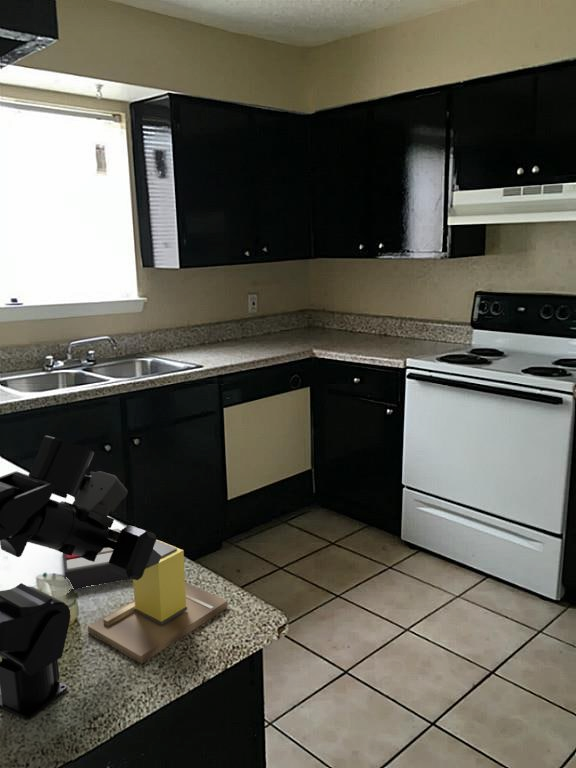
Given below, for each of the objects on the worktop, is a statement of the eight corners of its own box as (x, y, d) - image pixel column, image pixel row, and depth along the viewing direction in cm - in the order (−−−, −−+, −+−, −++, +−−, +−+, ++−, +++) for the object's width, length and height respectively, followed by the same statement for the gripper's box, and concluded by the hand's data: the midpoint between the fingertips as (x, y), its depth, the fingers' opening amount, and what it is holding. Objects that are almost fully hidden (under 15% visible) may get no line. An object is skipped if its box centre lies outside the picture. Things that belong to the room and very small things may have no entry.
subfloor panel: (141, 663, 91) (140, 650, 91) (88, 632, 98) (87, 620, 98) (227, 607, 105) (227, 596, 104) (175, 584, 112) (174, 573, 111)
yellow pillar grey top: (161, 625, 97) (157, 561, 95) (134, 611, 101) (130, 549, 99) (187, 609, 101) (184, 548, 99) (160, 596, 105) (156, 537, 103)
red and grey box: (121, 525, 127) (131, 556, 113) (122, 546, 128) (133, 579, 114) (61, 535, 123) (64, 568, 109) (63, 556, 124) (66, 592, 110)
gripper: (130, 481, 82) (204, 512, 94) (40, 454, 92) (116, 485, 104) (94, 569, 79) (175, 590, 91) (5, 531, 89) (88, 554, 101)
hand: (137, 550), depth 97 cm, fingers open, 9 cm apart
